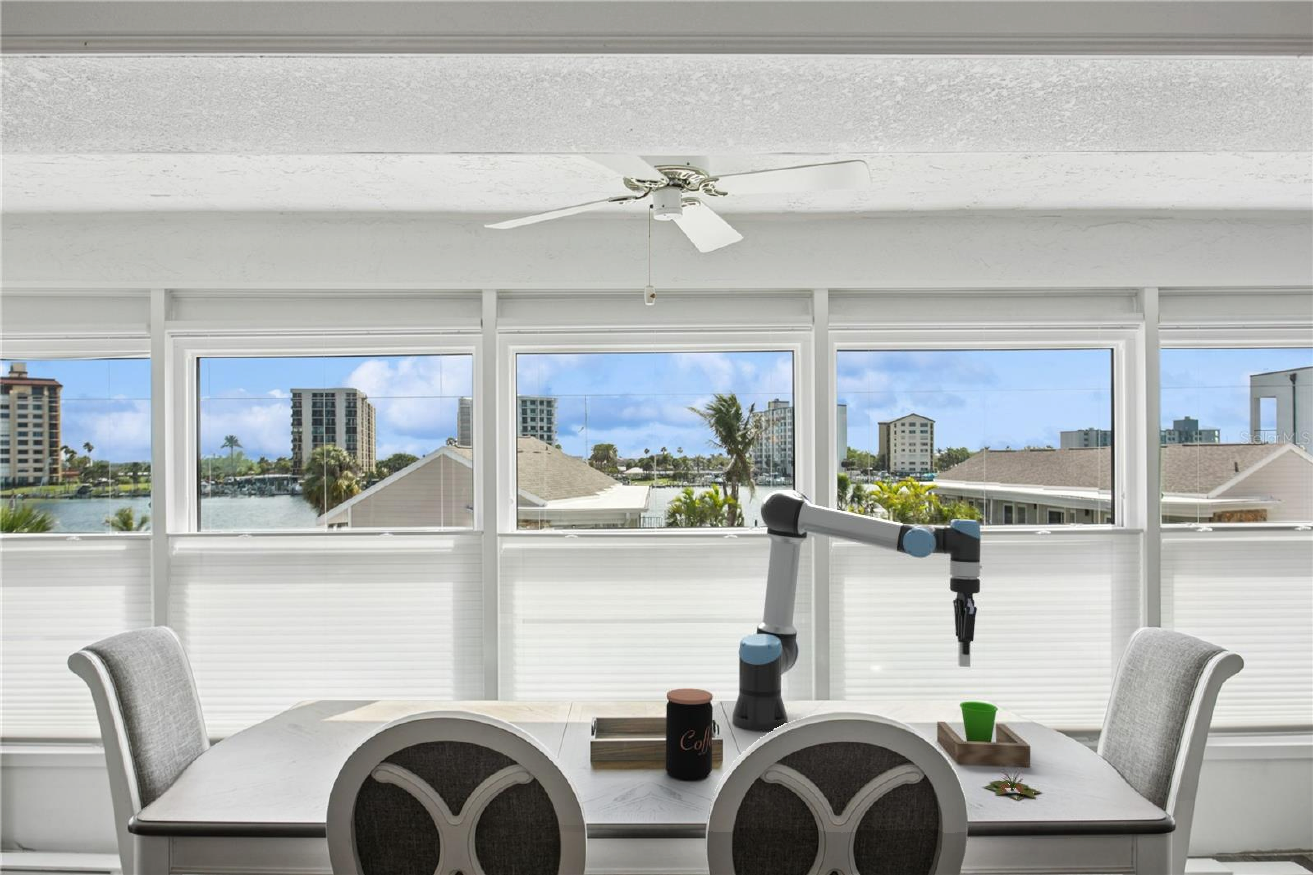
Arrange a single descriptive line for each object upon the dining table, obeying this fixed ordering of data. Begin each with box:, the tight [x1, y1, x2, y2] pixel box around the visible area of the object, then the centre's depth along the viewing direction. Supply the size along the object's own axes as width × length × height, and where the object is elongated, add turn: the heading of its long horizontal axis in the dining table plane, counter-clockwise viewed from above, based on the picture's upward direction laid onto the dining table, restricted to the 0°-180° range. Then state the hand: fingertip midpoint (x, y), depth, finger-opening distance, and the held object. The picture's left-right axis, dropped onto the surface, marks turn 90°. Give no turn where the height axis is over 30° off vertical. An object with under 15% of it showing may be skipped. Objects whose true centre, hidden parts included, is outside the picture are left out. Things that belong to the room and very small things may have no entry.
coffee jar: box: [665, 688, 714, 782], centre depth 191 cm, size 11×11×18 cm
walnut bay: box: [936, 721, 1031, 768], centre depth 208 cm, size 17×18×5 cm
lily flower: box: [982, 768, 1043, 802], centre depth 183 cm, size 12×12×5 cm
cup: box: [959, 701, 999, 742], centre depth 211 cm, size 9×9×11 cm
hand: (964, 666), depth 222 cm, fingers closed
